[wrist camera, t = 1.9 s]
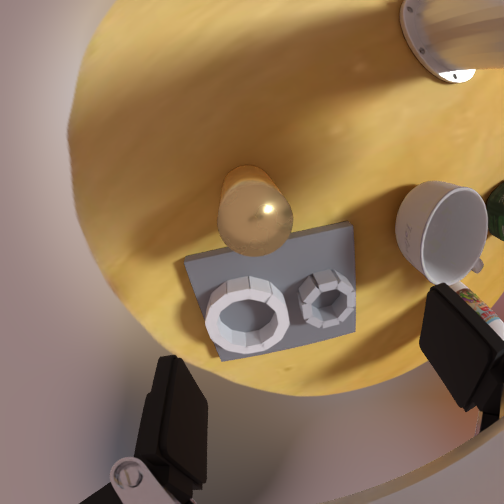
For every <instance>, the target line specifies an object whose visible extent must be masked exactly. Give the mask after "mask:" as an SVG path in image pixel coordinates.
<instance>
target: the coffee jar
mask: <svg viewBox="0 0 504 504" xmlns="http://www.w3.org/2000/svg"><path fill="white" fill-rule="evenodd" d="M486 210H487V216H488V229H489V231H490V233H491V234H492V235H493V236H495V237H497V238H499V239H500V240H502V241H504V182H503V183H502V184H500V185H499V186H498V187H497V188H496V189H495V190H494V191H493V192H492V193H491V195H490V196H489V198H488V202H487V208H486Z"/></svg>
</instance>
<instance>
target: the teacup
mask: <svg viewBox="0 0 504 504" xmlns="http://www.w3.org/2000/svg"><path fill="white" fill-rule="evenodd" d="M487 231H488V216H487V210H486V207H485V203H484V201H483V199H482V198H481V196H480V195H479V194H478V193H477V192H476V191H475V190H473V189H471V188H468V187H461V186H457V185H454V184H451V183H446V182H441V181H428V182H424V183H422V184H419V185H418V186H416V187H415V188H413V189H412V190H411V191H410V192H409V193H408V194H407V195H406V197H405V198H404V200H403V202H402V203H401V205H400V208H399V210H398V213H397V218H396V224H395V233H396V240H397V243H398V246H399V249H400V251H401V252H402V254H403V255H404V257H405V258H406V259H407V260H408V261H409V262H410V263H411V264H412V265H413V266H414V267H415V268H416V269H417V270H419V271H420V272H421V273H422V274H423V275H425V277H426V278H427V279H428V280H429V281H430V282H431V283H433V284H435V285H437V284H440V283H443V282H444V283H446V284H447V285H448V286H450V285H453V284H455V283H457V282H458V281H460V280H461V279H463V278H464V277H465V276H466V275H467V274H468V273H469V272H470V271H471V270H472V271H473V272H475V273H479V272H480V271H481V270H482V268H483V265H484V264H483V262H482V260H481V259H480V258H479V257H480V255H481V253H482V251H483V248H484V245H485V242H486V238H487Z"/></svg>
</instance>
